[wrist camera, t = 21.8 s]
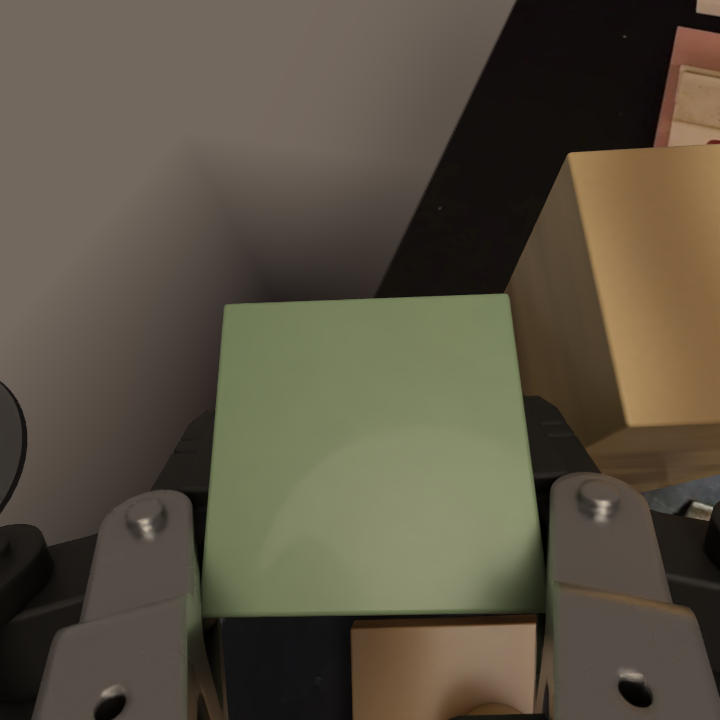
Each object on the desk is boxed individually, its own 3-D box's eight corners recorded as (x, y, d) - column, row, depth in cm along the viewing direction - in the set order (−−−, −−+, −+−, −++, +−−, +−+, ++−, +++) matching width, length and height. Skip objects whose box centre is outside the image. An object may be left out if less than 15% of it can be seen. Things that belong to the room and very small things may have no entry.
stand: (463, 512, 28) (627, 427, 9) (452, 403, 30) (567, 151, 11) (576, 508, 27) (987, 412, 9) (557, 399, 30) (856, 134, 11)
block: (291, 586, 13) (196, 618, 7) (295, 414, 15) (222, 302, 8) (469, 583, 13) (553, 613, 6) (454, 410, 15) (509, 291, 8)
